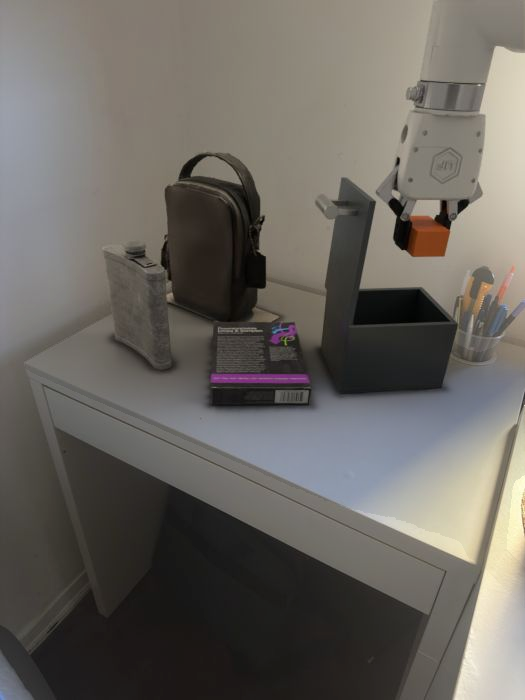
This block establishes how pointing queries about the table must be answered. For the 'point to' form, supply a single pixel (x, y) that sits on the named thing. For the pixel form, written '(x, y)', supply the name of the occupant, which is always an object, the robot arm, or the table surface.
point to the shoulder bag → (215, 244)
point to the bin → (388, 341)
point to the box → (258, 364)
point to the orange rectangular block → (427, 237)
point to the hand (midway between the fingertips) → (418, 245)
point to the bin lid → (347, 244)
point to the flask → (138, 301)
